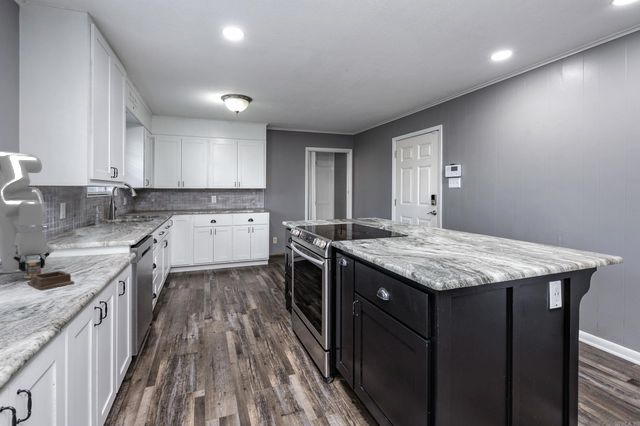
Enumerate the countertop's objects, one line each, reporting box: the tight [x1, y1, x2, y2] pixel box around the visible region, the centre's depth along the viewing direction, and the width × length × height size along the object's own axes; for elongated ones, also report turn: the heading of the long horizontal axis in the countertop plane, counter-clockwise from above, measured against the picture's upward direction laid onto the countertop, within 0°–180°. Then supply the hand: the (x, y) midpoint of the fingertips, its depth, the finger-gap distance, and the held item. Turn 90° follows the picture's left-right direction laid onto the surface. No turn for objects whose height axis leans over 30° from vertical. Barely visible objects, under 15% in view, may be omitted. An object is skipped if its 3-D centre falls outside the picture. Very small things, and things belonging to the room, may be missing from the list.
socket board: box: [27, 270, 75, 291], centre depth 130 cm, size 14×11×4 cm
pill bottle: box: [22, 254, 42, 279], centre depth 138 cm, size 6×6×10 cm
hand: (32, 268), depth 138 cm, fingers closed on pill bottle, 5 cm apart
